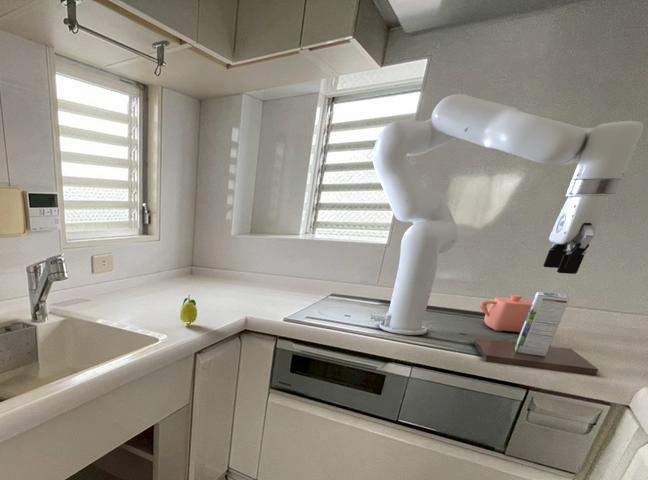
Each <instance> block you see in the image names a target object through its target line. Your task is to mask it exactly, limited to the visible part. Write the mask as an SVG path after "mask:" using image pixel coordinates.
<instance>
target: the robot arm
mask: <svg viewBox="0 0 648 480" xmlns="http://www.w3.org/2000/svg"><path fill="white" fill-rule="evenodd" d="M643 131H644V124H643V122H641V121H637V120H622V121H611V122H606V123H605V122H604V123H601V124H598V125H596V126H595V127H581V126H577V125H574V124H571V123H568V122H565V121H564V122H563V121H559V120H555V119H551V118H548V117H543V116H539V115H535V114H531V113H528V112H524V111H521V110H519V109H518V108H517V107H515V106H511V105H507V104H503V103H499V102H494V101H491V100H488V99H483V98H479V97H477V96H476V97H475V96H471V95H468V94H464V93H454V94H450V95H448V96H446V97H444V98H442V99H441V100H440V101H439V102H438V103H437V104H436V106H435V107H434V108H433V110H432V113H431V116H430V118H428V119H427V120H425V121H418V120H415V119H409V118H404V119H403V118H402V119H397V120H395V121H392V122H390V123H389V124H387V125H386V126H385V127H384V128H383V129H382V131H380V133H379V135H378V137H377V139H376V141H375V143H374V146H373V149H372V163H373V168H374V171H375V173H376V176H377V178H378V181H379V182H380V184H381V187H382V189H383V192H384V195H385V197H386V199H387V201H388V204H389V207H390V209H391V211H392V214H393V216H394V217H395V219H396V220H398V221H400V222H402V223H412V224H413V225H411V226H410V227H409V228H408V229H407V230H406V231H405V232H404V233H403V236H402V237H401V243H400V251H399V262H398V268H397V271H396V272H397V273H396V276H395V277H396V278H395V282H394V285H393V290H392V295H391V299H390V304H389V308H388V311H386V313H382V314H380V313H379V314H378V313H373V312H372V313H370V318H369V319H370V320H373V321H375V322H380V323H379V328H380V329H381V330H383V331H386V332H388V333H393V334H398V335H404V336H405V335H407V336H421V335H425V334H427V331H428V328H427V327H426V326H424V325H423V322H424V319H425V315H426V311H427V309H428V304H429V300H430V296H431V293H432V290H433V285H434V282H435V277H436V273H437V269H438V261H439V259H438V258H439V257H438V256H439V254H443V253H444V254H445V253H446V252H448V251H449V250H452V249H453V247H454V246H455V245H456V243H457V242H458V239H459V228H458V226H457V223H456V221H455V219H454V216H453V214H452V212H451V209H450V207H449V205H448V203H447V201H446V198H445V197H444V195H443V194H442V193H441V192H440V191H439V190H438V189H436V188H434V187H430V186H424V185H423V184H422V182H421V180H420V178H419V176H418V173H417V171H416V169H415V167H414V165H413V164H412V163H411V161H410V160H409V158H408V157H417V156H421V155H423V154H426V153H428V152H431V151H433V150H435V149H437V148H439V147H442V146H444V145H447V144H449V143H451V142H453V141H456V140H457V139H460V140H463V141H466V142H470V143H472V144H475V145H478V146H481V147H484V148H487V149H495V150H498V151H501V152H504V153H508V154H510V155H513V156H516V157H520V158H523V159H526V160H529V161H532V162H536V163H538V164H542V165H548V166H555V167H556V166H558V167H559V166H568V165H573V164H576V168H575V170H574V173H573V175H572V179H571V181H570V183H569V186H568V188H567V190H566V194H565V197H567V199H566V200H565V202H564V204H563V206H562V208H561V210H560V212H559V214H558V216H557V218H556V220H555V223H554V225H553V228H552V230H551V231H550V235H549V237H548V240H549V242H550V243H552V244H551V245H550V247H549V250H548V252H547V255H546V256H545V260H544V263H543V265H542V266H543V268H552V269H553V268H554V269H557V270H556V272H557V273H558V274H569V275H576V274H577V273H578V271H579V269H580V267H581V264H582V262H583V260H584V257H585V255H586V254H587V251H588V248H589V247H590V244H591V243H592V241H593V240H594V238H595V236H596V234H597V232H598V229H599V226H600V224H601V222H602V218H603V216H604V213H605V210H606V208H607V205H608V201H609V199H610V197H616V196H615V195H616V193H617V191H618V190H619V187H620V185H621V182H622V180H623V177H624V175H625V172H626V171H627V168H628V165H629V164H630V161H631V159H632V157H633V154H634V152H635V149H636V147H637V145H638V143H639V141H640V138H641V136H642V134H643Z"/></svg>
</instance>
